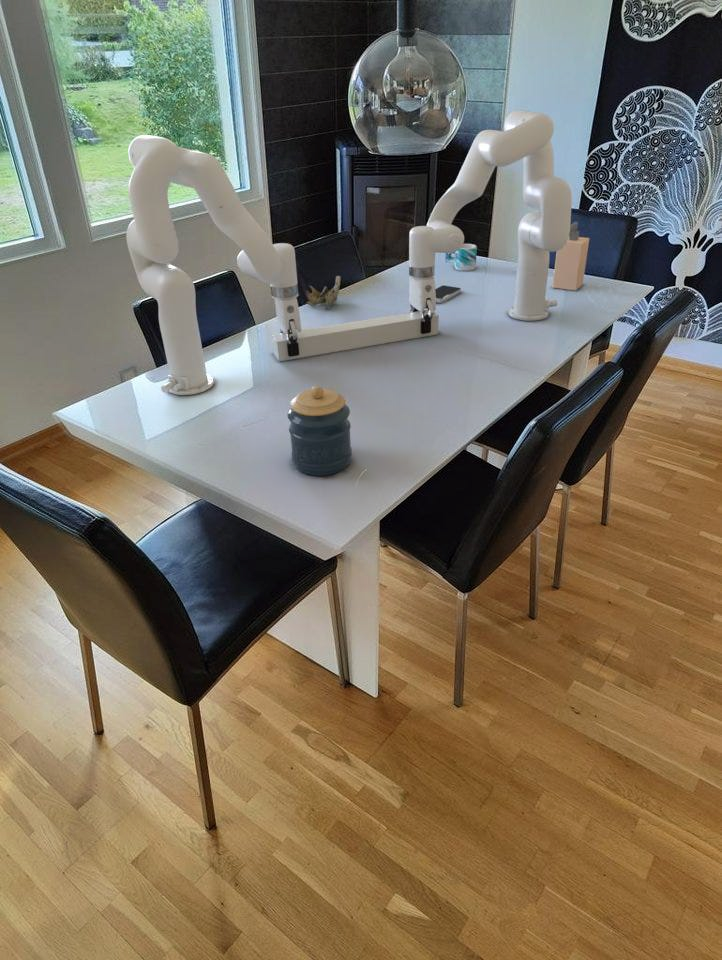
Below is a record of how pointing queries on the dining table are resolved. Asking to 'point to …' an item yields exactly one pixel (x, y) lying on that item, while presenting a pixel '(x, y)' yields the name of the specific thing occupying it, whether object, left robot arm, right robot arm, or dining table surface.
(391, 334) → the beam
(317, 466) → the canister
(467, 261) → the mug
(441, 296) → the smartphone
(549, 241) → the right robot arm
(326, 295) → the jawbone
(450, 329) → the dining table surface
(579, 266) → the tan upright block
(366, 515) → the dining table surface
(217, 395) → the dining table surface
